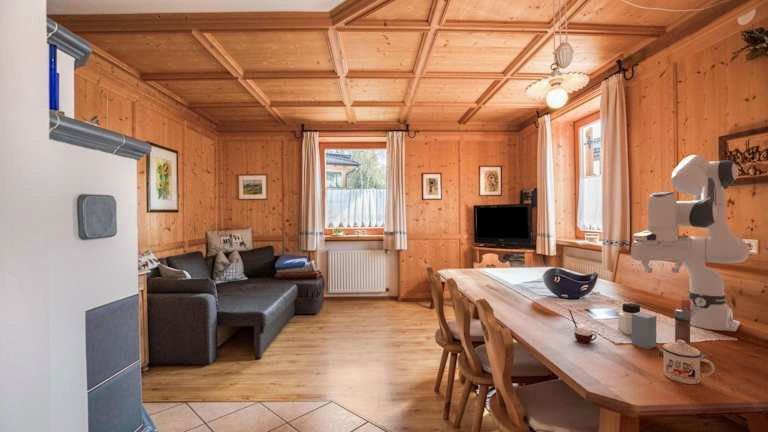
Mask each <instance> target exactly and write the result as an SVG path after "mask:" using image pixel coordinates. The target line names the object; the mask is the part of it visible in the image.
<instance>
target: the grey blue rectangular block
mask: <svg viewBox="0 0 768 432" xmlns="http://www.w3.org/2000/svg"><path fill="white" fill-rule="evenodd" d="M631 345H632V346H633V345H634V346H636V347H638V348H639V347H640V348H643V349H646V350H650V349H653V348H655V347H657V315H654V314H651V313H650V314H649V313H646V312H642V311H640V312H638V313H634V314H632V334H631Z"/></svg>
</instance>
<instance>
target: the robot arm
mask: <svg viewBox="0 0 768 432" xmlns="http://www.w3.org/2000/svg"><path fill="white" fill-rule="evenodd" d="M738 175H739V168H738V166H737V164H736V162H734V161H733V160H728V159H726V160H725V159H723V160H722V159H721V160H719V161H717V160H715V161H714V160H713V161H709V159H707V158H706V157H705V156H702V155H700V154H693V155H689V156H686V157H685V158H684V159H682V160H681V161H680V162H679V164H678V165H677V166H676V167H675V168H674V169H672V171H671V173H670V185H671V186H672V188H673V189H674V190H675V191H676V192H678V193H681V194H684V195H691V196H692V200H678V199H677V195H676V192H673V191H659V192H658V191H657V192H652V193H651V194H650V195H649V198H648V202H647V211H646V213H647V214H646V215H647V218H648V219H647V220H648V224H647V226H646V230H643V231H641V232H637V233H634V234H632V240H633V241H632V242H631V247H630V257H631V259H632V260H633V261H639V262H641V264H642V266H643V267H644V272H645V273H647V274H648V273H649V274H652V273H653V267H650V266H649V264H650V261H651V262H653V261H654V262H655V261H656V262H657V261H659V262H660V261H661V262H662V261H664V262H665V261H666V262H670V261H672V262H673V261H674V263H675V264H674V266H673V267H671V272H672V273H674V274H679V273H680V269H681V267H682V265H683V266H684V268H685V269H686V271H687V274H688V278H689V279H688V280H689V290H688V294H687V295H688V296H687V297H688V298H689V299H692V305H698V306H699V311H698V312H697V313H696V314H695V315H694V316H693V317H691V321H690V326H694V327H696V328H701V329H707V330H712V331H727V332H737V330H738V328H739V327H740V325H741V322H740V321H739V320H737V319H736V320H735V319H734V316H733V315H734V312H733V310H732V309H731V307H729V305H728V304H727V299H728V294H727V293H725V278H724V276H723V275H722V274H721V273H719V272H717V271H716V270H713V269H711V268H709V267H707V266H706V263H718V264H719V263H720V264H738V263H743V262H745V261H746V260H747V259H748V258H749V256H750V254H751V252H750V251H751V249H750V246H749V244H747V242H746V241H745V240H743V239H741V238H740V237H737V235H736V234H734V233H733V232H732V231H731V229H730V228H729V226H728V224H727V215H726V213H727V212H726V205H727V204H726V203H727V202H726V201H727V199H726V194H725V190H726V189H728V188H729V186H731V185H733V184H734V183H735V181H737V179H738ZM678 227H694V228H697V229H700V230H703V231H705V232H707V233H708V234H709V236H693V235H692V236H691V235H681V234H680V235H679V231H678V230H679V229H678Z"/></svg>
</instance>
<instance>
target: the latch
mask: <svg viewBox="0 0 768 432" xmlns="http://www.w3.org/2000/svg"><path fill="white" fill-rule="evenodd" d="M698 311H699V306H698V305H692V299H689V298H687V297H683V298H681V308H674V311H673V312H674V313H673V314H674V315H673V316H674V320H675V319H677V320H681V321H691V317H693V316H694V315H695V314H696V313H697V312H698Z"/></svg>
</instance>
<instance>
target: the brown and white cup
mask: <svg viewBox="0 0 768 432" xmlns="http://www.w3.org/2000/svg"><path fill="white" fill-rule="evenodd" d="M568 312H569V314H570V317H571V319H572V321H573V324H574V329H573V331H574V332H573V333H574V337H575V339H576V341H577V342H579V343H582V344H589V343H591V342H593V341H595V340H596V338H597V337H598V336H597V335H596V333H593V330H592V329H591V328H590V327H589V326H588V325H585V324H584V323H577V324H576V320H575V318H574V316H573V313H572V311H571V309H568ZM593 336H595V337H594V338H593Z"/></svg>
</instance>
